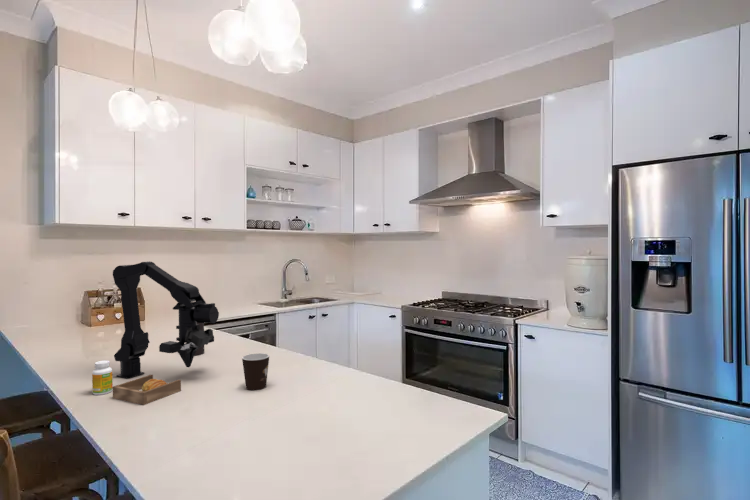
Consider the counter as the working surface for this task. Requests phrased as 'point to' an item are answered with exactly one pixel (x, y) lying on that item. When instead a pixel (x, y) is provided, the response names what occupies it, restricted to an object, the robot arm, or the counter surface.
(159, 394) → the box
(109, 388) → the supplement bottle
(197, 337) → the robot arm
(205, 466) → the counter surface
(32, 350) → the counter surface
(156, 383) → the pastry
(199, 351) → the vinegar
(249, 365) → the coffee mug
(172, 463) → the counter surface
